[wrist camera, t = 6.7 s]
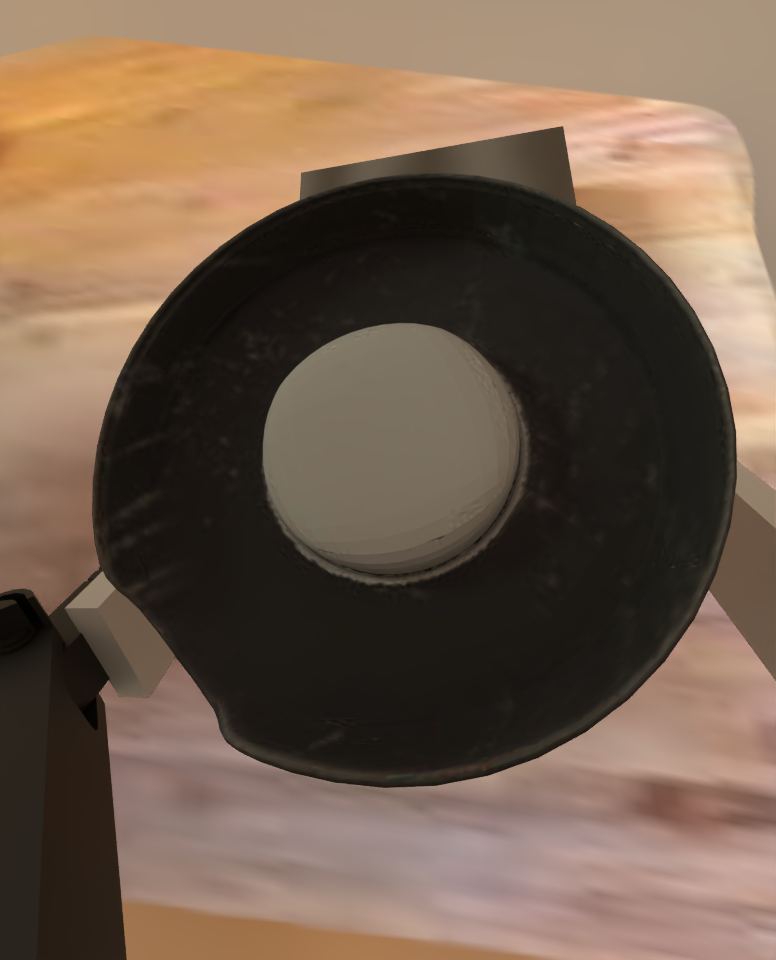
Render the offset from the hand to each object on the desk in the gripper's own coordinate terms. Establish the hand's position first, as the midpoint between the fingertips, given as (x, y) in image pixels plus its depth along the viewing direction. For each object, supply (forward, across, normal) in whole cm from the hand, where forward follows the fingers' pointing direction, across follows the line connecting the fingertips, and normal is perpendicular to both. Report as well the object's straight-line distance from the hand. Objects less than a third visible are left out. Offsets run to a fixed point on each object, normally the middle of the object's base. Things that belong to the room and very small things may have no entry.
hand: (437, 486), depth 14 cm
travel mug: (+7, 0, -9) cm, 11 cm away
